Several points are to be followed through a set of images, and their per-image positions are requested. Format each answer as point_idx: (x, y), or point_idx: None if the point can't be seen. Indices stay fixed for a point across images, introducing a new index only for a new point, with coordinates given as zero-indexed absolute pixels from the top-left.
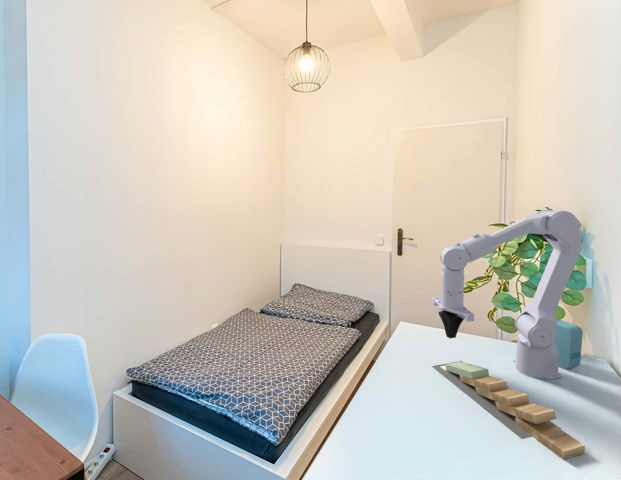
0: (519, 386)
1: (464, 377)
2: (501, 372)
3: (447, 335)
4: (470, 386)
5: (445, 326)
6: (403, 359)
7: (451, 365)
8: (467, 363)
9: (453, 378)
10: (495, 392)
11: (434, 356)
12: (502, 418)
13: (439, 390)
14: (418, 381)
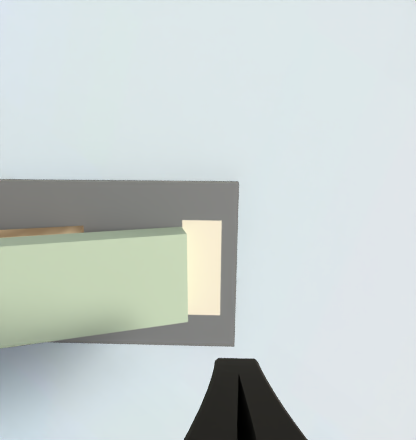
0: (31, 409)
1: (40, 233)
2: (126, 424)
3: (238, 365)
4: None
5: (265, 427)
6: (375, 95)
7: (145, 244)
8: (134, 327)
9: (109, 211)
10: None
11: (335, 269)
12: None
13: (64, 100)
14: (155, 46)
